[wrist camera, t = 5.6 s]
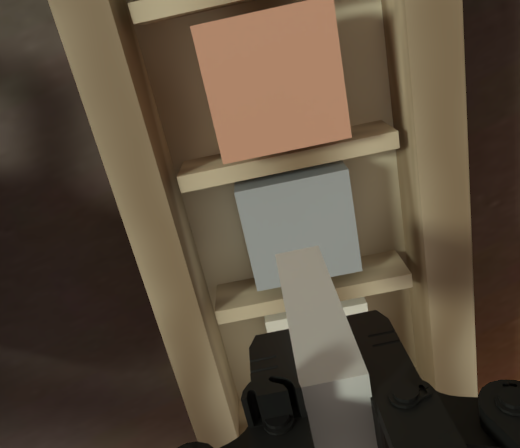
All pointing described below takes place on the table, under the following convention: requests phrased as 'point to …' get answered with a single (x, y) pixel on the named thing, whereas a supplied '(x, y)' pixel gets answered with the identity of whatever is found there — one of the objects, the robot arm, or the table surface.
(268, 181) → the key slate
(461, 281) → the wooden compartment tray
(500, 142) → the table surface
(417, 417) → the robot arm
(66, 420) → the table surface
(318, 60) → the key terracotta
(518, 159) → the table surface
